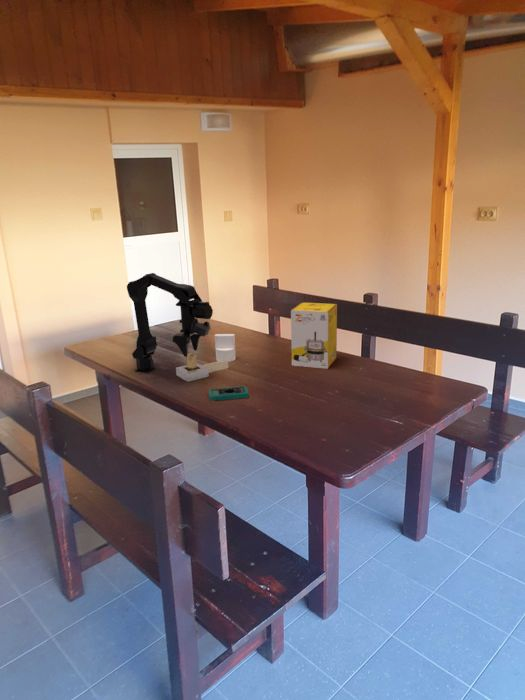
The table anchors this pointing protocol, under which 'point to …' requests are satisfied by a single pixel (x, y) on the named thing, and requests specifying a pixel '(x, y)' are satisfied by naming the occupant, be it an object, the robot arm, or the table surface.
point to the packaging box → (314, 335)
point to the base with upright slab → (225, 347)
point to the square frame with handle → (200, 370)
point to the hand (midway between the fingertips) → (190, 353)
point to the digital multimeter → (228, 393)
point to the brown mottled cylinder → (191, 361)
